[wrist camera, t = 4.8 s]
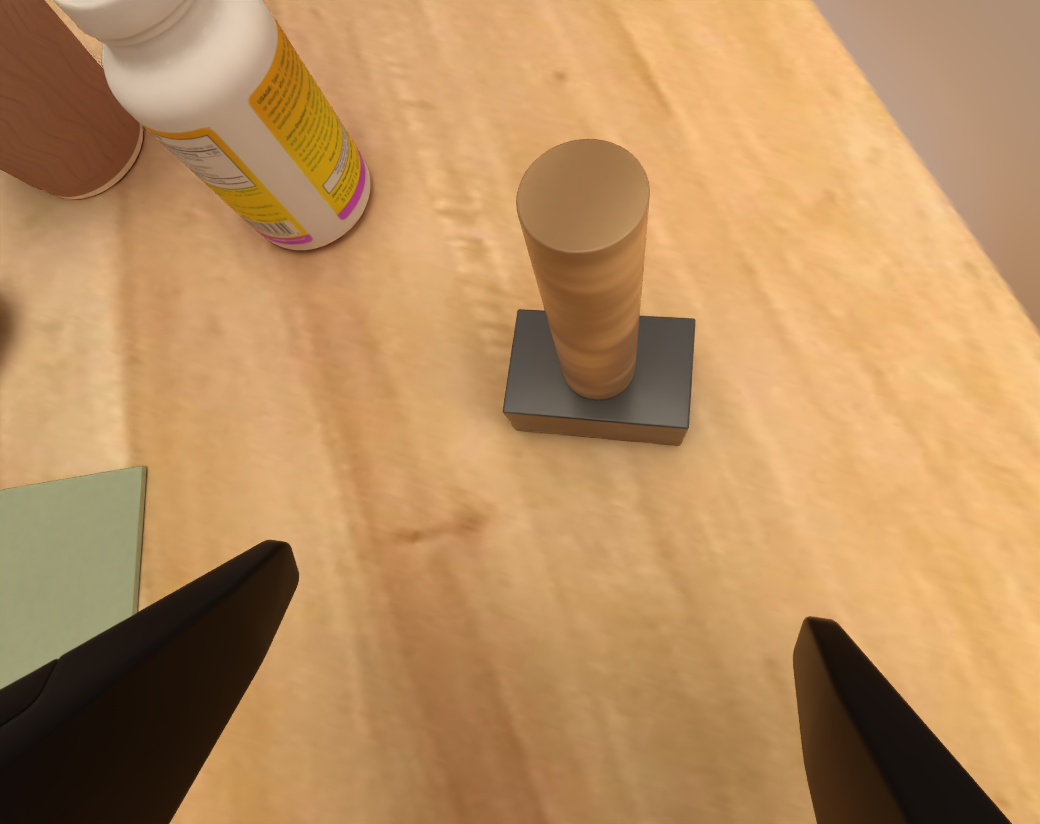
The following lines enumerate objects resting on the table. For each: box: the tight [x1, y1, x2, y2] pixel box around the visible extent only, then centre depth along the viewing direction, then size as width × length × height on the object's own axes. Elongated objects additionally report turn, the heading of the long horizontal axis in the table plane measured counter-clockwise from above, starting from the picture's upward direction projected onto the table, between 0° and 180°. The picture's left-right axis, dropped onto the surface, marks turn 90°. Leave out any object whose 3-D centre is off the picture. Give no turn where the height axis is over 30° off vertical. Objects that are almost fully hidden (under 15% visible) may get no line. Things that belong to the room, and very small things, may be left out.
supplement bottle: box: [54, 0, 370, 250], centre depth 24 cm, size 7×7×13 cm
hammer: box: [503, 139, 695, 446], centre depth 18 cm, size 7×4×14 cm, turn 82°
